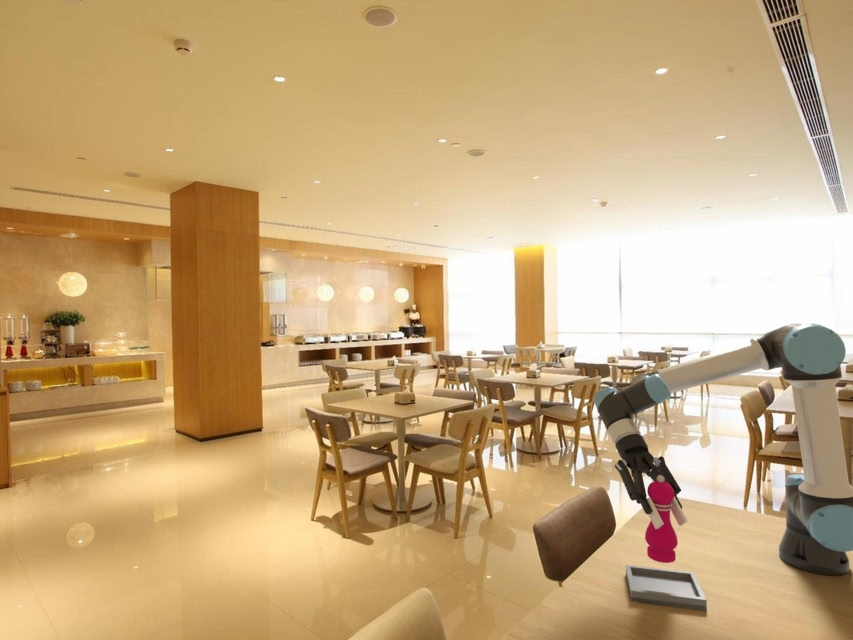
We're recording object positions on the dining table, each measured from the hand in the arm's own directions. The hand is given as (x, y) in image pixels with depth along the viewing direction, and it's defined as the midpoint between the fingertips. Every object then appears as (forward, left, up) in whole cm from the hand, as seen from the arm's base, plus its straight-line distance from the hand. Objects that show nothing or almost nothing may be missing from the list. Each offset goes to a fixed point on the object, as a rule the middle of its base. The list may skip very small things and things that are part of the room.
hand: (671, 524), depth 120 cm
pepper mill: (+2, -3, -10) cm, 10 cm away
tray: (+1, -3, -18) cm, 18 cm away
